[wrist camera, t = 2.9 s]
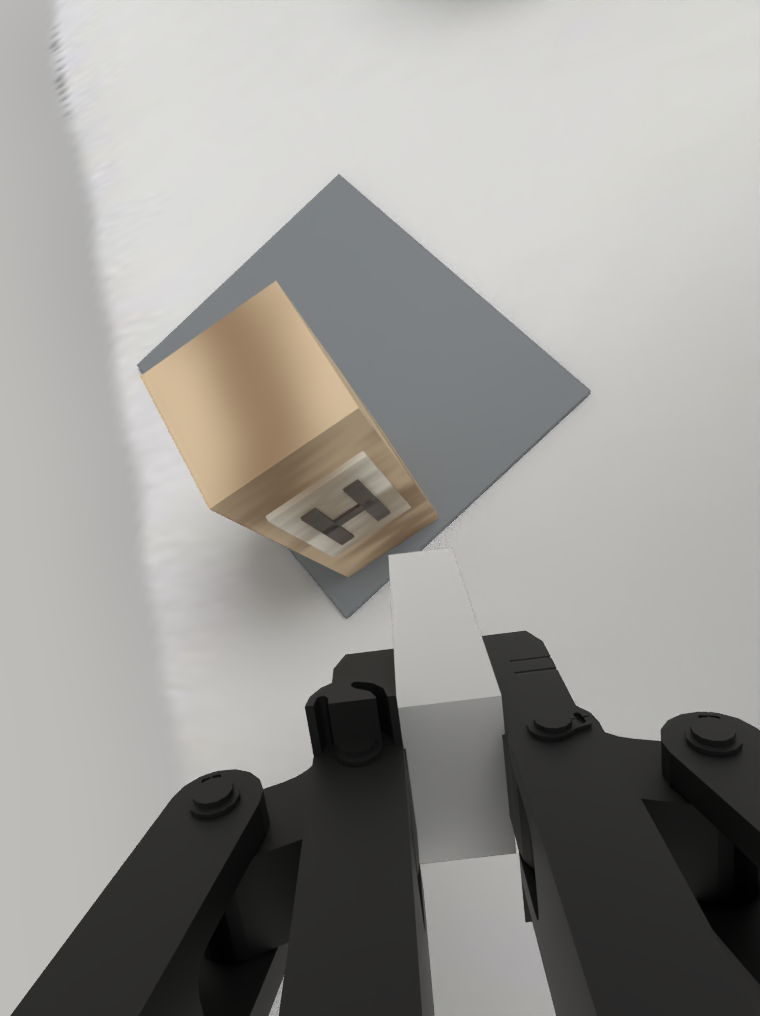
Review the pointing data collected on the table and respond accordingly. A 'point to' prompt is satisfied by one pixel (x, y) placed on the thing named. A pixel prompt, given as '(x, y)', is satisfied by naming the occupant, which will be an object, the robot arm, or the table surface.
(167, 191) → the table surface
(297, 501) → the letter block
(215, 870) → the robot arm
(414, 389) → the mat
